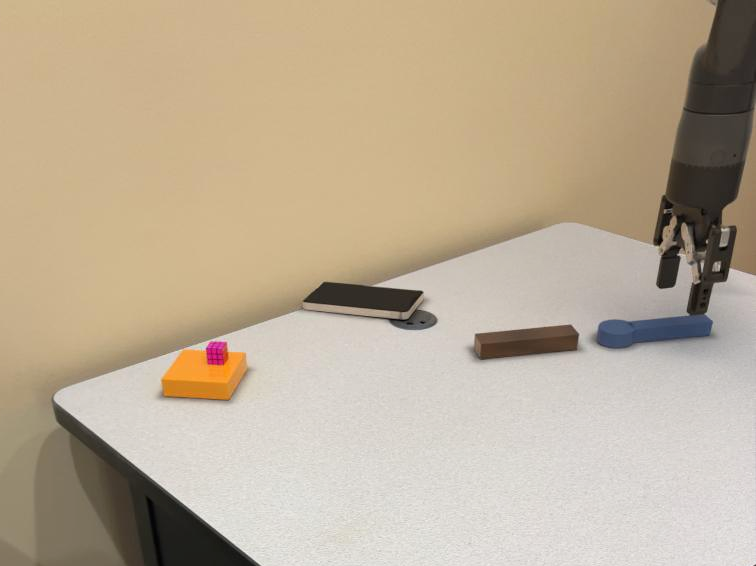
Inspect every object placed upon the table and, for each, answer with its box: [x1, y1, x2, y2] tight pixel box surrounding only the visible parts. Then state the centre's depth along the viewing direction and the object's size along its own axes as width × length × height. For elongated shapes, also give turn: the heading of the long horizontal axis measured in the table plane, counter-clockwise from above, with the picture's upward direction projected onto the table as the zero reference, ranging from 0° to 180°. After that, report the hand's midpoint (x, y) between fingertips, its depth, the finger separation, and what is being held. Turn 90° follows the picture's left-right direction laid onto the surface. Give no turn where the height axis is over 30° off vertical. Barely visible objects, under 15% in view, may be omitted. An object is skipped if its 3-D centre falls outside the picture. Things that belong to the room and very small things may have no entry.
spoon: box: [595, 313, 714, 349], centre depth 109 cm, size 14×4×2 cm, turn 96°
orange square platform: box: [160, 340, 248, 401], centre depth 105 cm, size 8×8×4 cm
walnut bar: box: [473, 324, 580, 360], centre depth 108 cm, size 12×3×2 cm, turn 96°
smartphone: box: [302, 281, 425, 320], centre depth 122 cm, size 8×1×15 cm
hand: (680, 300), depth 107 cm, fingers open, 8 cm apart
